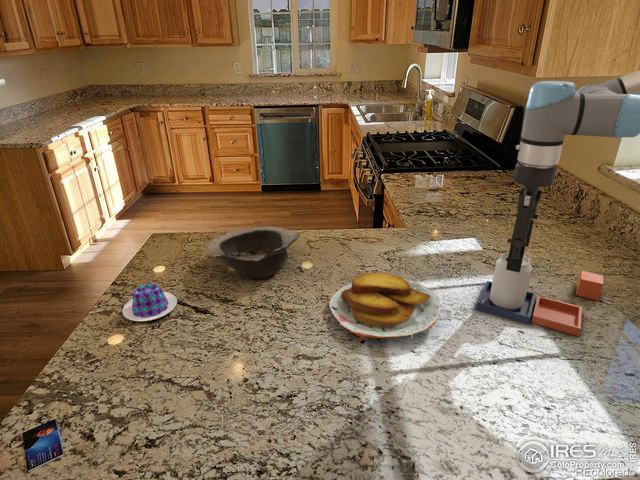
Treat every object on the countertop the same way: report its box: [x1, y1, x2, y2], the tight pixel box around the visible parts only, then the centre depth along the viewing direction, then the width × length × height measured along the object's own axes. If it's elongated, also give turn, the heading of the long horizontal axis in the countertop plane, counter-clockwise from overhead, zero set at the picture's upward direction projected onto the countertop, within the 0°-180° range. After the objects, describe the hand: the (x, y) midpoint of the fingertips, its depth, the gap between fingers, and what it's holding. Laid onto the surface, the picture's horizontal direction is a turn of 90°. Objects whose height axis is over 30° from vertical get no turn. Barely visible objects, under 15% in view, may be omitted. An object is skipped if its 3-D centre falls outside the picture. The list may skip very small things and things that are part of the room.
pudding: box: [122, 283, 178, 322], centre depth 98 cm, size 12×12×5 cm
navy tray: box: [475, 280, 537, 325], centre depth 99 cm, size 11×11×2 cm
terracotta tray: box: [530, 295, 583, 337], centre depth 95 cm, size 9×9×2 cm
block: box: [575, 270, 604, 301], centre depth 103 cm, size 5×5×5 cm
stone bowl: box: [206, 225, 301, 280], centre depth 117 cm, size 25×25×9 cm
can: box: [490, 252, 533, 310], centre depth 97 cm, size 8×8×12 cm
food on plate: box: [328, 271, 443, 342], centre depth 96 cm, size 25×25×7 cm
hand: (517, 257), depth 94 cm, fingers open, 13 cm apart
